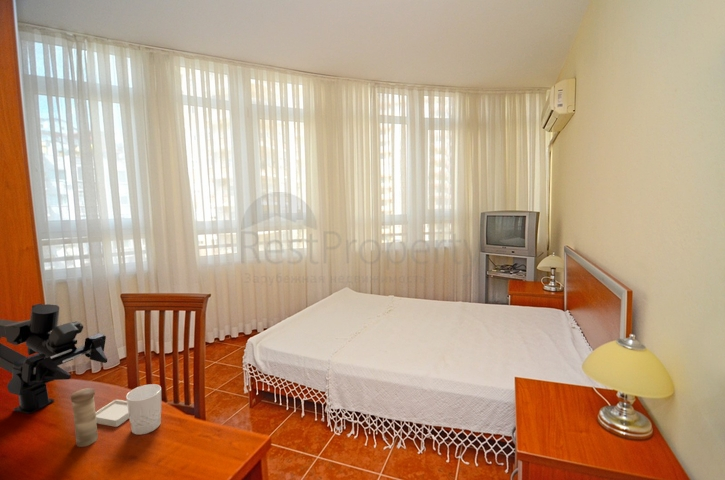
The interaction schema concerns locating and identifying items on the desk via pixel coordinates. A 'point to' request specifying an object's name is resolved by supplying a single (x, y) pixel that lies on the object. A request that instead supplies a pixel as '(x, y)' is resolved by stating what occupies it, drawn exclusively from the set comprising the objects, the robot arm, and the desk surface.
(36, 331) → the robot arm
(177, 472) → the desk surface
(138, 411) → the white cup
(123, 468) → the desk surface
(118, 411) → the tray
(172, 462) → the desk surface
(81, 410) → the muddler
